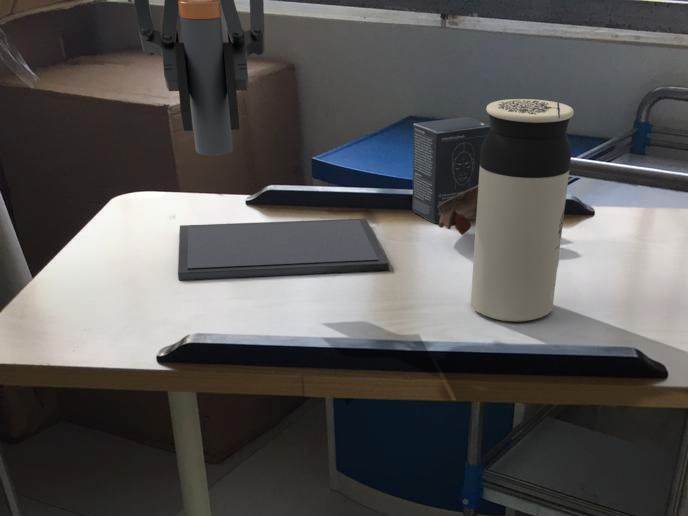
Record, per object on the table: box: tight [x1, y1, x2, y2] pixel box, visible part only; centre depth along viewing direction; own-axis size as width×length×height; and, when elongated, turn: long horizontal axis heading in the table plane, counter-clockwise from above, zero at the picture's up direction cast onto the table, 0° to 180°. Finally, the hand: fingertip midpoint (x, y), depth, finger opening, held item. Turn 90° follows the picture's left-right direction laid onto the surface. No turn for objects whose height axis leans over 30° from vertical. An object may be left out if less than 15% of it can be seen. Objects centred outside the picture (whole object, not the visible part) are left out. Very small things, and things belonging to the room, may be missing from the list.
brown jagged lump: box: [437, 185, 478, 236], centre depth 101 cm, size 12×10×8 cm
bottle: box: [178, 0, 234, 156], centre depth 79 cm, size 4×4×12 cm
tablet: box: [177, 217, 390, 281], centre depth 99 cm, size 22×16×1 cm
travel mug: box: [470, 98, 575, 323], centre depth 81 cm, size 8×8×18 cm
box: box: [411, 116, 490, 224], centre depth 108 cm, size 8×6×11 cm
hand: (210, 120), depth 77 cm, fingers closed on bottle, 3 cm apart
